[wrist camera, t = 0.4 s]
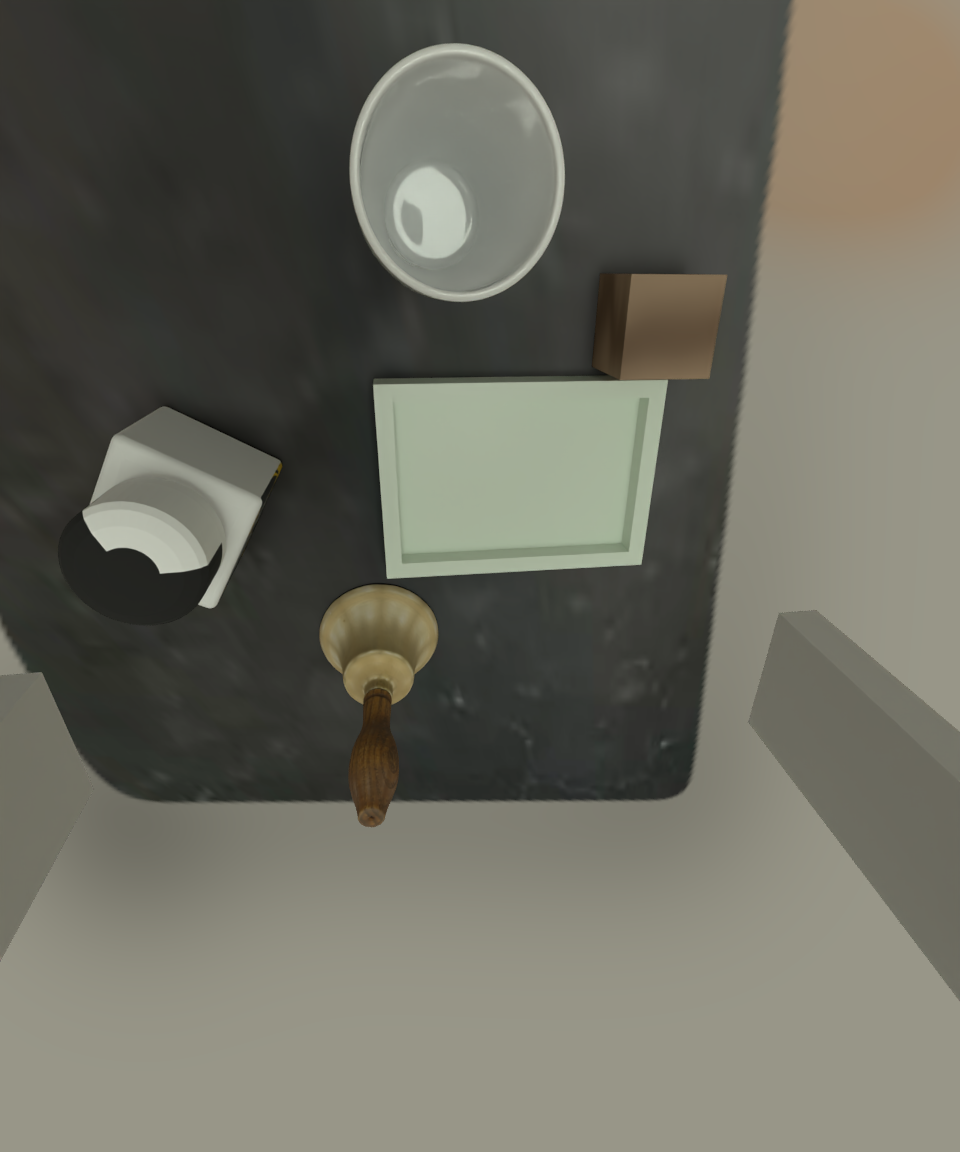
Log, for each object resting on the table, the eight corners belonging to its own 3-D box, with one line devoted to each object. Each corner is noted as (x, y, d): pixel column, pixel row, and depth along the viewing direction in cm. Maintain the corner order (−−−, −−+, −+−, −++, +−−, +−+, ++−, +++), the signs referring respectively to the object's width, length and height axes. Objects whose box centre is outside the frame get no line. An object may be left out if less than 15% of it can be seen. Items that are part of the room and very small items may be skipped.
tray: (373, 378, 35) (373, 384, 33) (654, 374, 37) (668, 380, 35) (387, 564, 40) (386, 578, 38) (630, 552, 42) (641, 564, 40)
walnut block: (599, 273, 34) (631, 274, 29) (683, 274, 34) (727, 274, 30) (591, 366, 36) (620, 379, 32) (670, 365, 37) (709, 378, 32)
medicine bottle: (241, 556, 38) (186, 665, 28) (124, 508, 36) (15, 608, 25) (285, 460, 36) (241, 540, 25) (162, 402, 34) (59, 463, 23)
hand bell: (411, 694, 45) (421, 886, 31) (303, 663, 43) (262, 856, 29) (456, 605, 42) (491, 773, 28) (344, 566, 40) (319, 729, 26)
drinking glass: (467, 310, 34) (517, 337, 20) (348, 259, 32) (319, 253, 18) (513, 177, 31) (606, 108, 18) (387, 113, 29) (386, -16, 16)
